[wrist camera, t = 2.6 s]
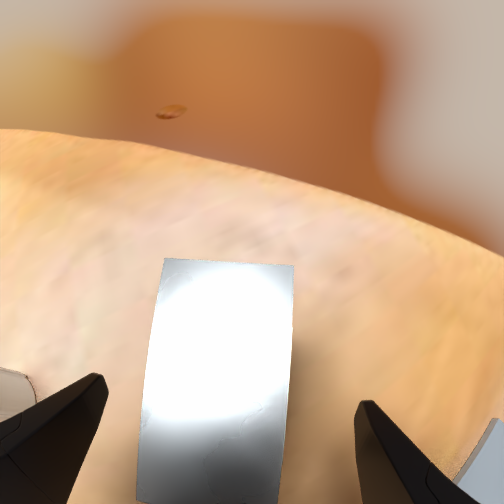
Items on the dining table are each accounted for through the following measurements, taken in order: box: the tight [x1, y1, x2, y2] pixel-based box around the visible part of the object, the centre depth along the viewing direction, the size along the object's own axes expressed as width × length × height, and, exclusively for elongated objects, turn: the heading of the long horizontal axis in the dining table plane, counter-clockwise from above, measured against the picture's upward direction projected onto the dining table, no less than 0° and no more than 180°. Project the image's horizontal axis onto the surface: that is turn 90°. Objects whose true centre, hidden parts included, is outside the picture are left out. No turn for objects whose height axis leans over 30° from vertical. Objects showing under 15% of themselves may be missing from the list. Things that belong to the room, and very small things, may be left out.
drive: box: [136, 258, 294, 504], centre depth 12 cm, size 7×4×11 cm, turn 175°
